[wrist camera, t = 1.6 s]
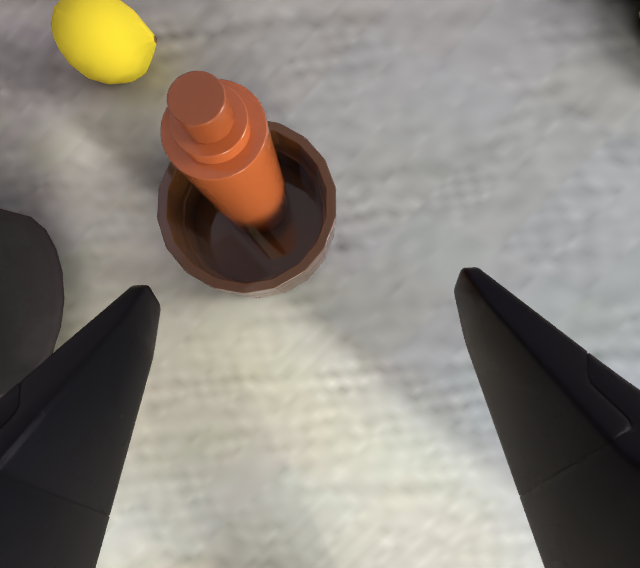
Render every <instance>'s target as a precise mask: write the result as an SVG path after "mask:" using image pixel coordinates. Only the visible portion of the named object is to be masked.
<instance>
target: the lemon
mask: <svg viewBox="0 0 640 568" xmlns="http://www.w3.org/2000/svg"><path fill="white" fill-rule="evenodd" d="M51 25H52V33H53V38H54V40H55V42H56V44H57V46H58V48H59V50H60V52H61V53H62V54H63V56H64V57H65V58H66V60H67V61H68V62H69V64H70V65H71V66H73V67H74V68H75V69H77V70H78V71H79V72H80V73H82V74H83V75H84V76H86V77H87V78H89V79H92V80H95V81H99V82H102V83H105V84H120V83H129V82H133V81H135V80H136V79H138V78H139V77H141V76H142V75H144V74H145V73H146V72H147V69H148V67H149V65H150V62H151V60H152V57H153V54H154V51H155V47H156V44H157V39H156V37H155V35H154V34H153V33H152V32H151V31H150V29H149V28H148V27H147V26H146V25H145V23H144V22H143V21H142V20H141V19H140V17H139V16H138V15H137V14H136V13H135V11H134V10H133V9H131V8H130V7H129V6H127V5H126V4H125V3H123V2H122V1H121V0H60V1H59V2H58V3H57V4H56V6H55V7H54V8H53V16H52V23H51Z"/></svg>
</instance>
